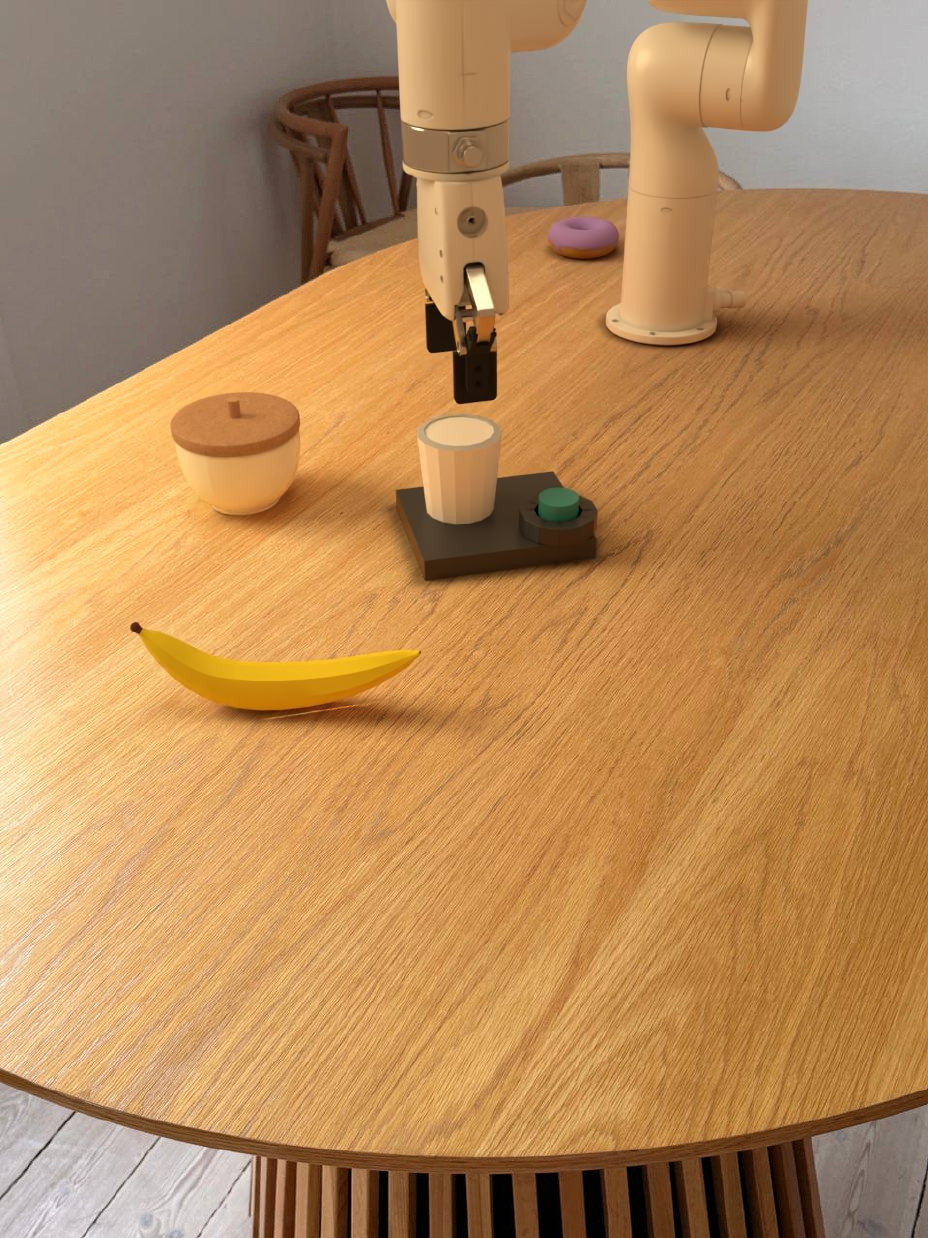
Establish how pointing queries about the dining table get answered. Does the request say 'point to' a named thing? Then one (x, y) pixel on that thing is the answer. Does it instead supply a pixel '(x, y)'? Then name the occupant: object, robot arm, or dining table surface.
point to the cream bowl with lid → (238, 449)
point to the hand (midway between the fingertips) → (460, 374)
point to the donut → (583, 237)
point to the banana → (271, 674)
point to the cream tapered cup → (459, 466)
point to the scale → (498, 532)
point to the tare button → (558, 504)
